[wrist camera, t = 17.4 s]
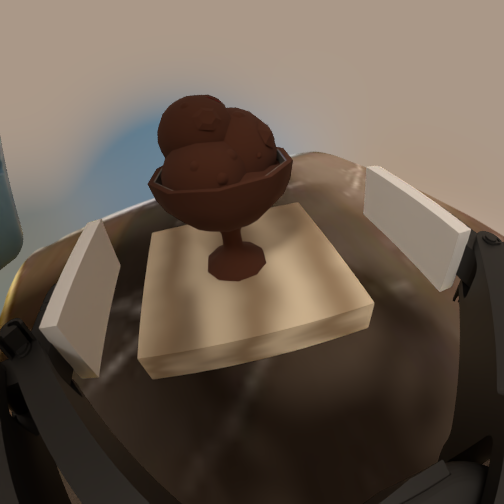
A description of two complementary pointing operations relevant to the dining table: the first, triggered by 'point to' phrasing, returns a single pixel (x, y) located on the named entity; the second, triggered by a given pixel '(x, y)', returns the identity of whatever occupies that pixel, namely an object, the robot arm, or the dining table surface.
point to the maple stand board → (245, 297)
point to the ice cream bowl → (219, 177)
